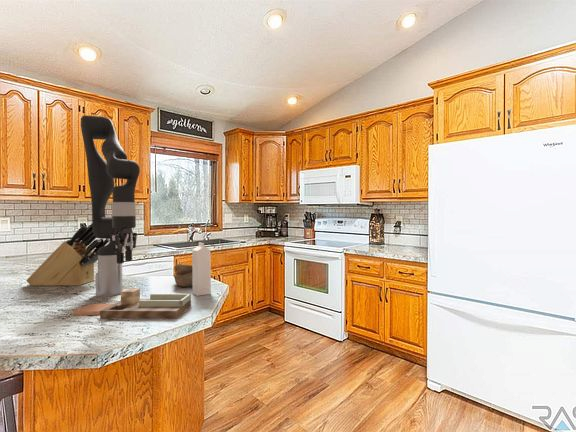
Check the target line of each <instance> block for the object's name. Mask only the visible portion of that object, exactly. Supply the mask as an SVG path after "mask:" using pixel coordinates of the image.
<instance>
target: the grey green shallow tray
mask: <svg viewBox="0 0 576 432" xmlns="http://www.w3.org/2000/svg"><path fill="white" fill-rule="evenodd" d="M149 295H150V296H149V299H150V300H139V307H182V306H183V305H184V304H186V303H187V302H188V301H189V300H191V301H192V293H150V294H149Z"/></svg>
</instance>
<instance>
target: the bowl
mask: <svg viewBox="0 0 576 432" xmlns="http://www.w3.org/2000/svg"><path fill="white" fill-rule="evenodd" d="M173 270H174V273H173V278H174V283H175V284H176V285H177V286H179V287H182V288H187V287H193V285H192V265H190V264H181V263H178V264H175V265H174V269H173Z"/></svg>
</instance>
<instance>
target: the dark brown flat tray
mask: <svg viewBox="0 0 576 432" xmlns="http://www.w3.org/2000/svg"><path fill="white" fill-rule="evenodd" d="M140 300H150V298H140ZM112 304H113V305H111V306H109V307H107V308H105V309H103V310H101V311H100V315H99V319H148V320H149V319H151V320H152V319H153V320H154V319H159V320H160V319H166V320H167V319H168V320H169V319H171V320H172V319H173V320H174V319H175V320H177V319H178V318H179V317H180V316H182V314H184V313H185V312H186V311H187V310H188V309H189V308H190V307H192V299H191V300H189V301H188V302H187V303H186V304H184V305H183V306H182V307H139V301H138V302H137V303H135V304H121V300H119V301H117V302H114V303H112Z"/></svg>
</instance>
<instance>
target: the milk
mask: <svg viewBox="0 0 576 432" xmlns="http://www.w3.org/2000/svg"><path fill="white" fill-rule="evenodd" d="M191 250H192V251H191V261H192V262H191V263H192V285H193V286H192V294H193V295H195V296H196V297H199V296H205V295H211V294H212V288H211V287H212V284H211V283H212V280H211V279H212V278H211V277H212V276H211V275H212V273H211V272H212V271H211V270H212V268H211V267H212V266H211V265H212V264H211V263H212V261H211V256H212V255H211V254H212V253H211V249H209V248H207V247H205V243H204V242H200V241H199V242H198V246H196V247H194V248H193V249H191Z"/></svg>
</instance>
